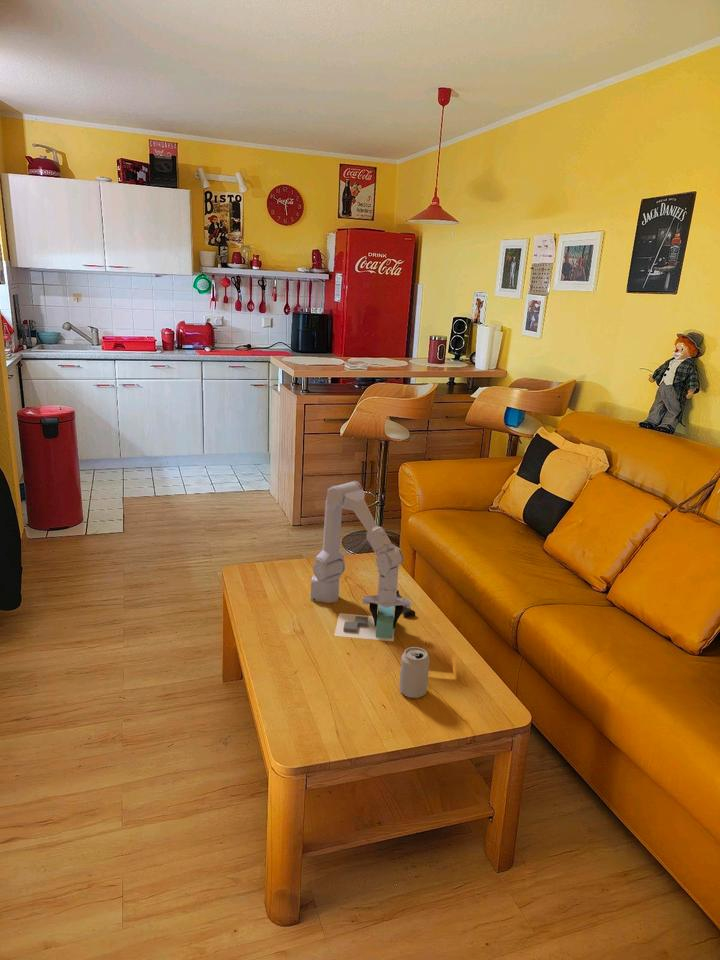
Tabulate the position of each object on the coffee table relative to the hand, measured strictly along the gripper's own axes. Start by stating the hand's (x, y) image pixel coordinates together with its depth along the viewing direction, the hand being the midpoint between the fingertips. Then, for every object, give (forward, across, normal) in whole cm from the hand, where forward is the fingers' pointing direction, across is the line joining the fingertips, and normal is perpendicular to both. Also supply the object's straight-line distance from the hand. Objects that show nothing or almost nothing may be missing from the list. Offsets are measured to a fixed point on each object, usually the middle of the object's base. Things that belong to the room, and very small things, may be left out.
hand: (384, 625), depth 204 cm
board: (+2, -6, 0) cm, 6 cm away
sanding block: (+1, 0, 0) cm, 1 cm away
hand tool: (+3, +4, +17) cm, 18 cm away
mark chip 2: (+1, -8, +2) cm, 8 cm away
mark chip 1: (+1, -10, -2) cm, 11 cm away
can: (+3, +9, -29) cm, 30 cm away
